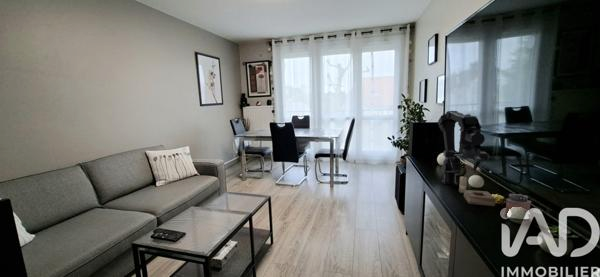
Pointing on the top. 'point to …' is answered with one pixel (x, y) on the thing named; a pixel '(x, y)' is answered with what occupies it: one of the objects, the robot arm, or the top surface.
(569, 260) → the top surface
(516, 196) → the lighter
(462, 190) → the pin
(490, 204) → the bore block
